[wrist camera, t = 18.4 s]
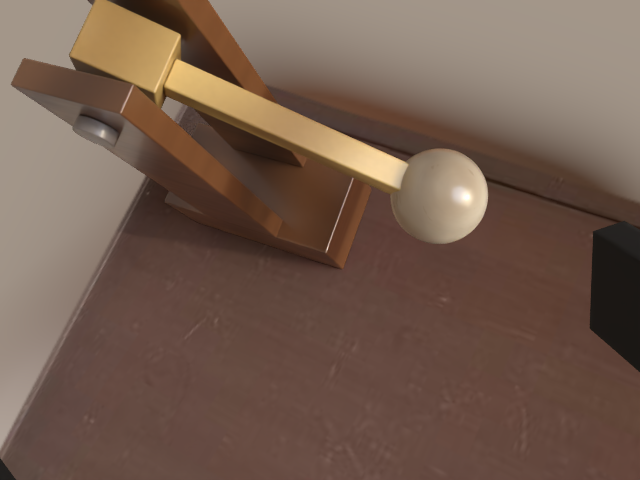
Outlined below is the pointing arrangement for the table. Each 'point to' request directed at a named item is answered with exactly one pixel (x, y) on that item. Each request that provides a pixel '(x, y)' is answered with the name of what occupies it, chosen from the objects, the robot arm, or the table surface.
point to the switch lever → (283, 124)
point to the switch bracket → (208, 144)
